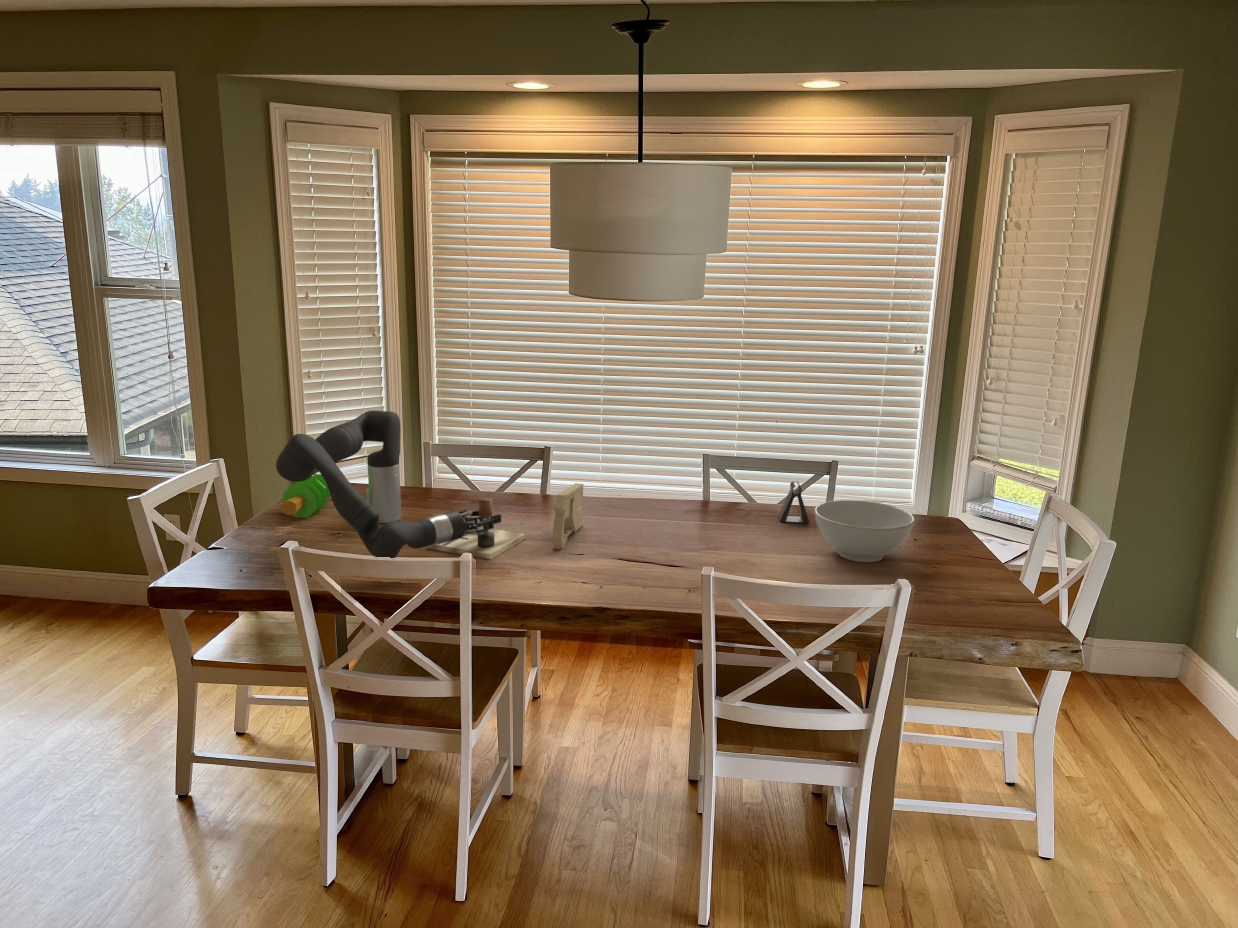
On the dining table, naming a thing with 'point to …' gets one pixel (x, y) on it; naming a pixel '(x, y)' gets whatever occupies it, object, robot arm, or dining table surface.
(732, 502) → the dining table surface
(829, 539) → the decorative bowl
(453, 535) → the robot arm
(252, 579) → the dining table surface
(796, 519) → the phone stand
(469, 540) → the subfloor panel
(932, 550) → the dining table surface
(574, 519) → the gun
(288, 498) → the decorative tree
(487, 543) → the wooden handled stamp
